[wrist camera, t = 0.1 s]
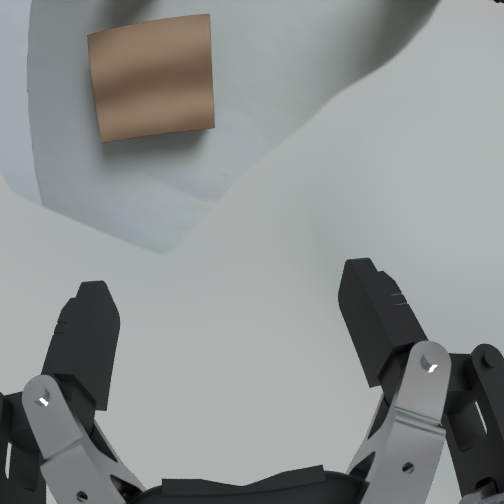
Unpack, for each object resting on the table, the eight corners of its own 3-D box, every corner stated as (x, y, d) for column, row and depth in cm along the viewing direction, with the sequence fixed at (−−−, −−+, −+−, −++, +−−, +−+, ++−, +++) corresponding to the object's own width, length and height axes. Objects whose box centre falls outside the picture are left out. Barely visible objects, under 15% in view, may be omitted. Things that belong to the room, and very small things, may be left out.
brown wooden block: (106, 35, 26) (87, 35, 21) (210, 19, 27) (209, 13, 22) (117, 127, 33) (102, 142, 28) (214, 115, 34) (214, 128, 29)
